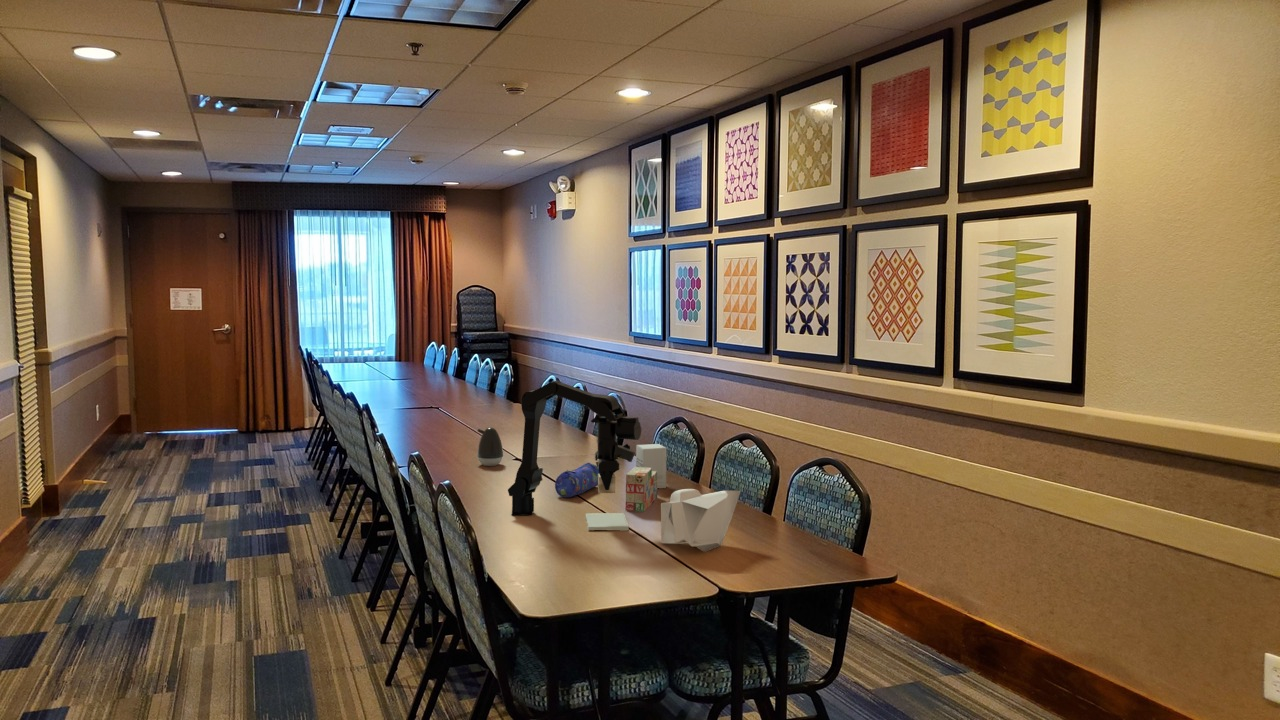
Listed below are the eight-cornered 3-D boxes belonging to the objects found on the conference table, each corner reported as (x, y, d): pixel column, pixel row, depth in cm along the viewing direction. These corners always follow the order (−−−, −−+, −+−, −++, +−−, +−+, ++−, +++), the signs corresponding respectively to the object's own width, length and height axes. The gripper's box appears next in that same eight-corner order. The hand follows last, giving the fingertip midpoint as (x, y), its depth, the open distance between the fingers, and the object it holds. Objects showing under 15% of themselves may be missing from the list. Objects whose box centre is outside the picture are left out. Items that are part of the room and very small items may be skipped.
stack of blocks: (639, 496, 320) (640, 461, 319) (657, 497, 319) (657, 462, 318) (625, 511, 300) (625, 473, 299) (644, 512, 298) (644, 474, 297)
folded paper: (654, 485, 260) (687, 503, 245) (725, 478, 272) (759, 494, 257) (651, 542, 263) (682, 564, 248) (721, 533, 274) (755, 553, 260)
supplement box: (658, 483, 341) (659, 443, 340) (666, 488, 333) (667, 447, 332) (635, 484, 339) (635, 444, 337) (642, 489, 330) (643, 448, 329)
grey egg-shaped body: (481, 462, 375) (481, 425, 374) (506, 463, 374) (506, 426, 373) (473, 466, 365) (473, 429, 364) (498, 468, 364) (499, 430, 363)
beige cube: (598, 493, 279) (599, 477, 279) (597, 489, 284) (598, 473, 284) (615, 493, 280) (615, 476, 279) (614, 489, 285) (614, 473, 284)
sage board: (588, 530, 274) (588, 526, 274) (585, 517, 290) (585, 513, 290) (628, 530, 276) (628, 526, 276) (623, 516, 292) (623, 513, 291)
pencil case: (574, 500, 313) (574, 472, 312) (552, 497, 317) (552, 470, 316) (603, 487, 333) (603, 461, 332) (582, 485, 336) (582, 459, 336)
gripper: (636, 442, 272) (635, 494, 274) (630, 432, 291) (629, 481, 292) (598, 442, 271) (598, 495, 272) (595, 432, 290) (594, 481, 291)
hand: (606, 488), depth 282 cm, fingers closed on beige cube, 5 cm apart
